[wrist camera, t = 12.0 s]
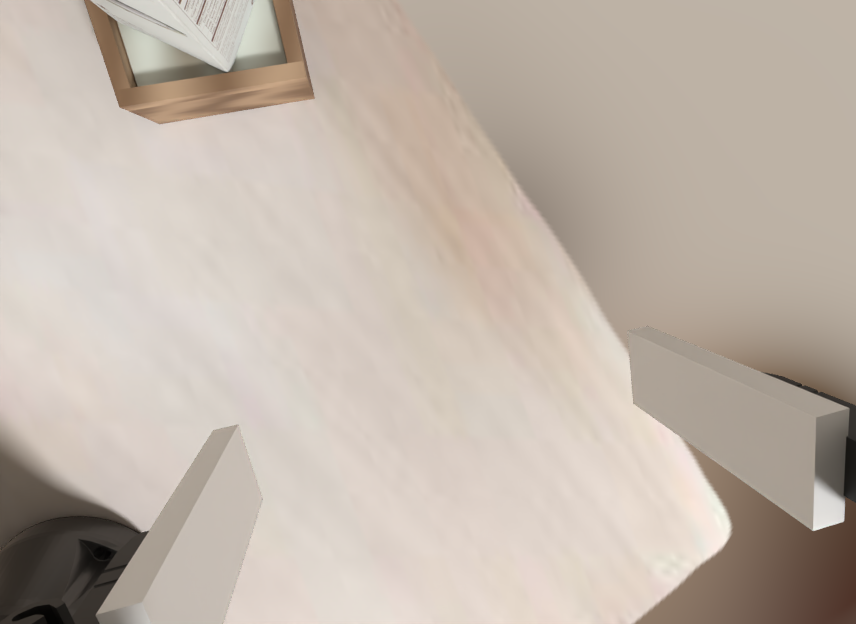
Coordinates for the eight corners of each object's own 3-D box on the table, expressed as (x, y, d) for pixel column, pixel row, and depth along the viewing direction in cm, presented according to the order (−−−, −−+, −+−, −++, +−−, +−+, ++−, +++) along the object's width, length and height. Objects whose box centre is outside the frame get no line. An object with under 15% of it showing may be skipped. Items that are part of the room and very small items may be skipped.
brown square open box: (159, 124, 35) (119, 107, 29) (103, -55, 32) (46, -115, 26) (314, 98, 36) (306, 77, 30) (274, -77, 33) (257, -138, 27)
